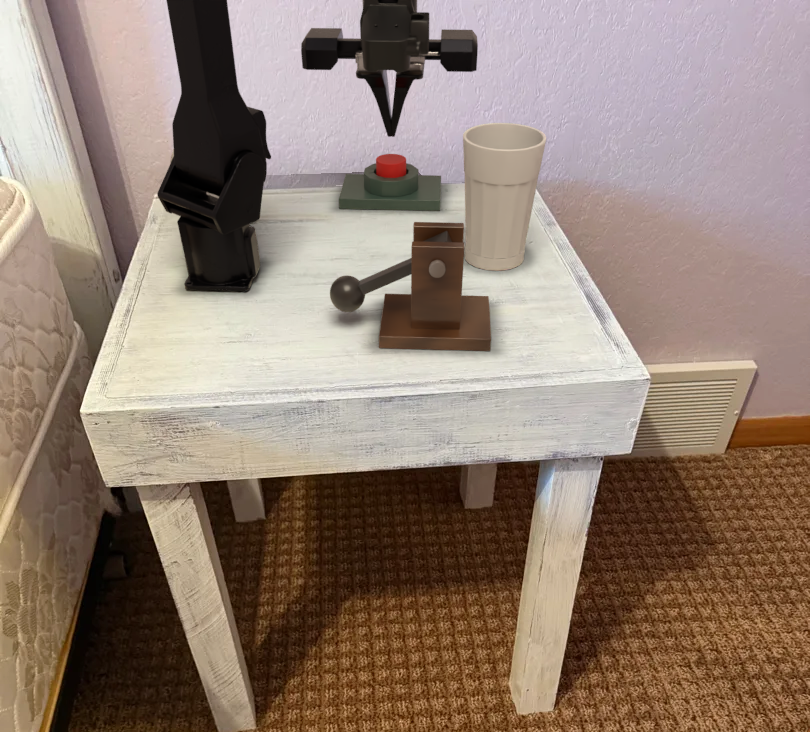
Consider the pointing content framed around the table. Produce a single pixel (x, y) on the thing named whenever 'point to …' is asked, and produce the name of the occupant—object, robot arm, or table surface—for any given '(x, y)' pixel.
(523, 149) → the cup
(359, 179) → the button block
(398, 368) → the table surface
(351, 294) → the lever
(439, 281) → the bracket
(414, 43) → the robot arm
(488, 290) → the table surface
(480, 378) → the table surface
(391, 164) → the button
